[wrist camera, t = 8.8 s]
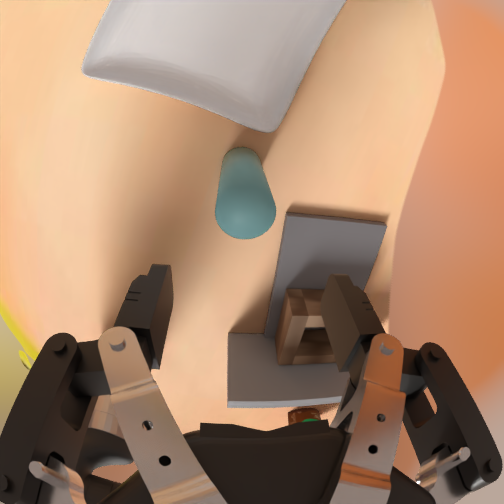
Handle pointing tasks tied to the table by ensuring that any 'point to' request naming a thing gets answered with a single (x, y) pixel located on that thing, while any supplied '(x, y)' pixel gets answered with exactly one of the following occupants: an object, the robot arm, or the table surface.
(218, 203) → the teal rounded bar piece
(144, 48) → the salad plate
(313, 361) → the block
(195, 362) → the table surface
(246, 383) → the backstop wall
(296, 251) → the rail plate
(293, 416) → the food container
